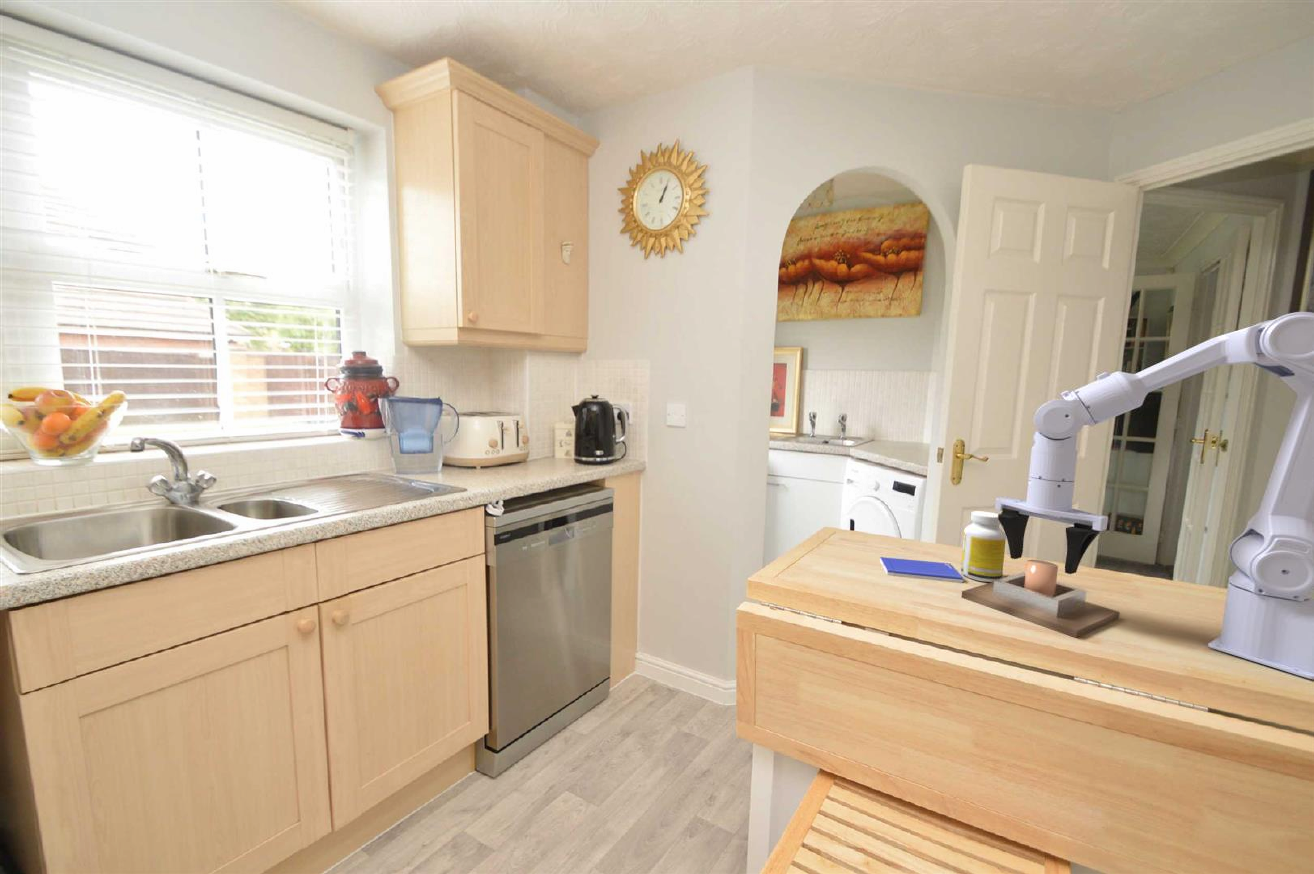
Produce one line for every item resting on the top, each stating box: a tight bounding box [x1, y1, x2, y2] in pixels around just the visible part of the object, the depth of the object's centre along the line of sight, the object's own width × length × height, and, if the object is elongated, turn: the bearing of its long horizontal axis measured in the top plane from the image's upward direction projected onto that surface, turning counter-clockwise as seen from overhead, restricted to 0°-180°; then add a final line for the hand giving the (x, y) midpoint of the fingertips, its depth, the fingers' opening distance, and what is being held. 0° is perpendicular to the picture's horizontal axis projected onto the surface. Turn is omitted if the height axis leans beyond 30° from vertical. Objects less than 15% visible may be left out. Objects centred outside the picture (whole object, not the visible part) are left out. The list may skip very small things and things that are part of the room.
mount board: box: [961, 582, 1120, 639], centre depth 87 cm, size 16×14×1 cm
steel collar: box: [993, 572, 1087, 618], centre depth 87 cm, size 9×9×2 cm
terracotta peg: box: [1024, 559, 1059, 597], centre depth 86 cm, size 4×4×6 cm
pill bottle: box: [960, 510, 1007, 583], centre depth 99 cm, size 6×6×12 cm
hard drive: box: [879, 556, 964, 584], centre depth 102 cm, size 2×8×12 cm
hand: (1042, 564), depth 86 cm, fingers open, 7 cm apart
